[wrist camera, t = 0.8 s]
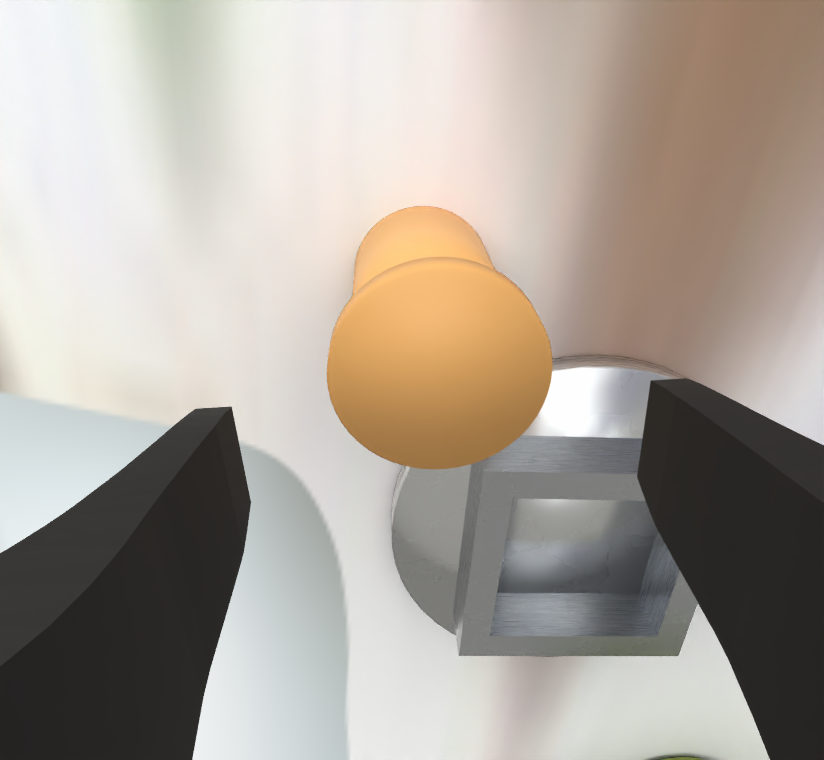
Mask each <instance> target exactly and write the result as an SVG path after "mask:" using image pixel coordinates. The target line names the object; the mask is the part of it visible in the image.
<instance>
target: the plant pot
mask: <svg viewBox="0 0 824 760" xmlns="http://www.w3.org/2000/svg"><path fill="white" fill-rule="evenodd" d="M662 760H701V759H698V758H691V757H674V758H667V759H662Z"/></svg>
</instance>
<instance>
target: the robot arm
mask: <svg viewBox="0 0 824 760" xmlns="http://www.w3.org/2000/svg"><path fill="white" fill-rule="evenodd" d="M637 479H638V481H639V484H640V487H641V490H642V493H643V495H644V498H645V501H646V504H647V506H648V509H649V511H650V514H651V516H652V519H653V521H654V524H655V526H656V528H657V530H658V532H659V533H660V535H661V537H662V539H663V541H664V543H665V545H666V546H667V548H668V550H669V552H670V554H671V555H672V557H673V559H674V561H675V563H676V564H677V566H678V568H679V570H680V572H681V573H682V575H683V577H684V579H685V580H686V582H687V584H688V586H689V588H690V589H691V591H692V593H693V595H694V596H695V598H696V600H697V602H698V604H699V605H700V607H701V609H702V611H703V612H704V614H705V616H706V618H707V620H708V621H709V623H710V625H711V627H712V628H713V630H714V632H715V634H716V636H717V638H718V640H719V642H720V644H721V646H722V648H723V650H724V652H725V654H726V656H727V657H728V660H729V662H730V664H731V666H732V669H733V671H734V673H735V676H736V678H737V680H738V683H739V685H740V687H741V690H742V692H743V694H744V697H745V699H746V701H747V704H748V706H749V708H750V711H751V713H752V715H753V718H754V720H755V723H756V725H757V728H758V730H759V733H760V735H761V738H762V740H763V743H764V745H765V748H766V750H767V753H768V756H769V758H770V760H824V445H822V444H819V443H817V442H815V441H813V440H811V439H809V438H807V437H805V436H803V435H801V434H799V433H796V432H794V431H792V430H790V429H788V428H786V427H784V426H782V425H780V424H778V423H777V422H775V421H773V420H771V419H769V418H767V417H765V416H763V415H761V414H759V413H757V412H755V411H753V410H751V409H749V408H747V407H745V406H743V405H742V404H740V403H738V402H736V401H734V400H732V399H730V398H728V397H726V396H724V395H722V394H720V393H718V392H716V391H714V390H712V389H710V388H708V387H706V386H704V385H701V384H699V383H697V382H694V381H692V380H689V379H687V378H681V379H665V380H651V381H650V388H649V395H648V402H647V409H646V417H645V424H644V431H643V438H642V445H641V452H640V459H639V466H638V473H637ZM250 504H251V501H250V496H249V491H248V486H247V481H246V476H245V471H244V466H243V461H242V456H241V451H240V446H239V441H238V436H237V431H236V427H235V422H234V417H233V412H232V407H218V408H202V409H195V410H193V411H192V412H191V413H189V414H188V415H187V416H185V417H184V418H183V419H182V420H180V421H179V422H178V423H177V424H176V425H174V426H173V427H172V428H171V429H170V430H168V431H167V432H166V433H165V434H164V435H163V436H162V437H160V438H159V439H158V440H157V441H156V442H154V443H153V444H152V445H151V446H150V447H149V448H147V449H146V450H145V451H144V452H142V453H141V454H140V455H139V456H138V457H136V458H135V459H134V460H133V461H132V462H130V463H129V464H128V465H127V466H126V467H125V468H123V469H122V470H121V471H119V472H118V473H117V474H116V475H114V476H113V477H112V478H110V479H109V480H108V481H106V482H105V483H104V484H102V485H101V486H100V487H98V488H97V489H96V490H94V491H93V492H92V493H91V494H89V495H88V496H87V497H85V498H84V499H83V500H81V501H80V502H79V503H77V504H76V505H75V506H73V507H72V508H70V509H69V510H68V511H66V512H65V513H63V514H62V515H60V516H59V517H57V518H56V519H54V520H53V521H51V522H50V523H48V524H47V525H45V526H44V527H42V528H41V529H39V530H38V531H36V532H34V533H33V534H31V535H30V536H28V537H26V538H25V539H23V540H22V541H20V542H18V543H17V544H15V545H14V546H12V547H10V548H9V549H7V550H5V551H3V552H2V553H0V760H192V757H193V751H194V746H195V740H196V735H197V729H198V724H199V718H200V713H201V707H202V701H203V696H204V692H205V688H206V684H207V680H208V676H209V672H210V667H211V664H212V661H213V657H214V654H215V651H216V647H217V644H218V640H219V637H220V633H221V630H222V627H223V623H224V620H225V616H226V613H227V609H228V606H229V603H230V599H231V596H232V592H233V589H234V585H235V582H236V578H237V575H238V571H239V568H240V564H241V561H242V556H243V553H244V547H245V540H246V534H247V526H248V520H249V512H250Z"/></svg>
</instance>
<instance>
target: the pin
mask: <svg viewBox="0 0 824 760" xmlns="http://www.w3.org/2000/svg"><path fill="white" fill-rule="evenodd" d="M552 369H553V366H552V352H551V347H550V342H549V339H548V336H547V333H546V330H545V328H544V326H543V324H542V322H541V321H540V319H539V317H538V315H537V313H536V311H535V310H534V308H533V306H532V304H531V302H530V301H529V300H528V298H527V297H526V296H525V294H524V293H523V292H522V291H521V290H520V289H519V288H518V287H517V286H516V285H515V284H514V283H513V282H512V281H511V280H510V279H508V278H507V277H506V276H504V275H503V274H501V273H500V272H498V271H496V270H495V268H494V266H493V264H492V262H491V260H490V258H489V256H488V253H487V251H486V249H485V247H484V245H483V243H482V241H481V239H480V237H479V236H478V234H477V233H476V232H475V230H474V229H473V228H472V227H471V226H470V225H469V224H468V223H467V222H466V221H465V220H463V219H462V218H461V217H459V216H457V215H456V214H454V213H452V212H449V211H447V210H444V209H441V208H437V207H429V206H416V207H409V208H405V209H402V210H399V211H396V212H394V213H392V214H390V215H388V216H386V217H385V218H383V219H382V220H381V221H379V222H378V223H377V224H376V225H375V226H374V227H373V228H372V229H371V230H370V231H369V232H368V234H367V235H366V236H365V238H364V240H363V241H362V243H361V245H360V248H359V250H358V253H357V257H356V261H355V271H354V283H353V295H352V298H351V299H350V300H349V301H348V303H347V304H346V305H345V307H344V309H343V310H342V312H341V314H340V316H339V318H338V320H337V322H336V325H335V327H334V330H333V333H332V338H331V342H330V348H329V356H328V365H327V383H328V390H329V394H330V399H331V402H332V404H333V407H334V410H335V412H336V414H337V415H338V417H339V419H340V421H341V423H342V424H343V425H344V427H345V428H346V429H347V430H348V432H349V433H350V434H351V435H352V436H353V437H354V438H355V439H356V440H357V441H358V442H359V443H360V444H362V445H363V446H364V447H366V448H367V449H368V450H370V451H371V452H373V453H375V454H376V455H378V456H380V457H382V458H384V459H387V460H389V461H391V462H394V463H397V464H400V465H404V466H408V467H413V468H419V469H449V468H456V467H462V466H466V465H470V464H473V463H476V462H479V461H481V460H484V459H486V458H488V457H490V456H492V455H494V454H496V453H498V452H500V451H501V450H503V449H504V448H506V447H508V446H509V445H510V444H512V443H513V442H514V441H515V440H516V439H518V438H519V437H520V436H521V435H522V434H523V433H524V432H525V431H526V430H527V429H528V428H529V426H530V425H531V424H532V422H533V421H534V420H535V418H536V417H537V415H538V414H539V412H540V410H541V408H542V407H543V404H544V402H545V400H546V397H547V395H548V391H549V387H550V384H551V378H552Z"/></svg>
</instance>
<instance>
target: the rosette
mask: <svg viewBox="0 0 824 760" xmlns="http://www.w3.org/2000/svg"><path fill="white" fill-rule="evenodd" d="M552 366H553V369H552V378H551V384H550V387H549V391H548V395H547V397H546V400H545V402H544V404H543V407H542V408H541V410H540V412H539V414H538V415H537V417H536V418H535V420H534V421H533V422H532V424H531V425H530V426H529V428H528V429H527V430H526V431H525V432H524V433H523V434H522V435H521V436H520V437H519V438H518V439H516V440H515V441H514V442H513V443H512V444H510V445H509V446H508V447H506V448H504V449H503V450H501V451H500V452H498V453H496V454H494V455H492V456H490V457H488V458H486V459H484V460H481V461H479V462H476V463H473V464H470V465H466V466H462V467H456V468H449V469H419V468H413V467H408V466H404V465H403V467H402V469H401V471H400V474H399V477H398V480H397V483H396V487H395V490H394V495H393V502H392V509H391V518H392V548H393V553H394V558H395V563H396V567H397V569H398V572H399V574H400V577H401V580H402V582H403V584H404V585H405V587H406V589H407V591H408V592H409V594H410V596H411V597H412V598H413V600H414V601H415V602H416V603H417V604H418V606H419V607H420V608H421V609H422V610H423V611H424V612H425V613H426V614H427V615H428V616H429V617H430V618H432V619H433V620H434V621H435V622H436V623H437V624H439V625H440V626H442V627H443V628H445V629H446V630H448V631H449V632H451V633H453V634H454V635H456V639H457V647H458V654H459V656H541V657H552V656H678V655H679V653H680V650H681V647H682V644H683V641H684V639H685V636H686V633H687V630H688V628H689V625H690V622H691V619H692V617H693V614H694V611H695V608H696V606H697V604H698V602H697V600H696V598H695V596H694V595H693V593H692V591H691V589H690V588H689V586H688V584H687V582H686V580H685V579H684V577H683V575H682V573H681V572H680V570H679V568H678V566H677V564H676V563H675V561H674V559H673V557H672V555H671V554H670V552H669V550H668V548H667V546H666V545H665V543H664V541H663V539H662V537H661V535H660V533H659V532H658V530H657V528H656V526H655V524H654V521H653V519H652V516H651V514H650V511H649V509H648V506H647V504H646V501H645V498H644V495H643V493H642V490H641V487H640V484H639V481H638V479H637V473H638V466H639V459H640V452H641V445H642V438H643V431H644V424H645V417H646V409H647V402H648V395H649V388H650V381H651V380H665V379H681V378H684V377H683V376H681V375H679V374H677V373H675V372H674V371H671V370H669V369H666V368H663V367H661V366H658V365H655V364H653V363H649V362H645V361H640V360H636V359H631V358H627V357H616V356H606V355H588V356H571V357H564V358H557V359H552Z"/></svg>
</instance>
